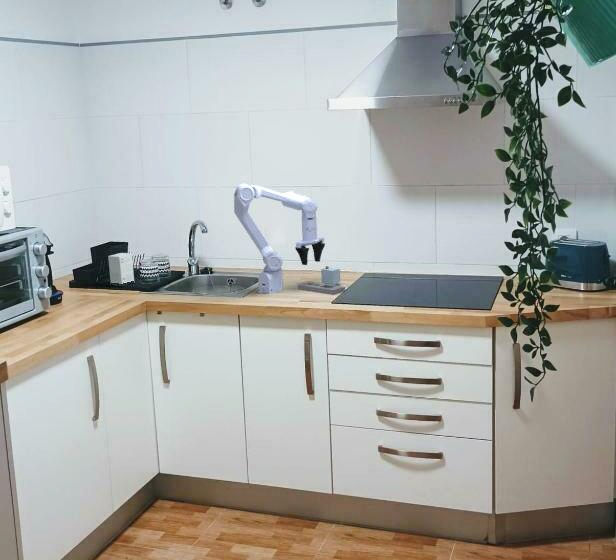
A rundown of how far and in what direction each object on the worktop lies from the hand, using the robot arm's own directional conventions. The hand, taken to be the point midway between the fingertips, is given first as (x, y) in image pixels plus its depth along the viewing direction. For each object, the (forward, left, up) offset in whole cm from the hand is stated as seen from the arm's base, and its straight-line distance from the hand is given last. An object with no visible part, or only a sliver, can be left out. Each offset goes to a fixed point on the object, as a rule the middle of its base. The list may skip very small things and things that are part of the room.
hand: (311, 263), depth 317 cm
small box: (-37, +74, -11) cm, 84 cm away
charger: (+7, -4, -10) cm, 13 cm away
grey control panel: (-2, -7, -10) cm, 13 cm away
